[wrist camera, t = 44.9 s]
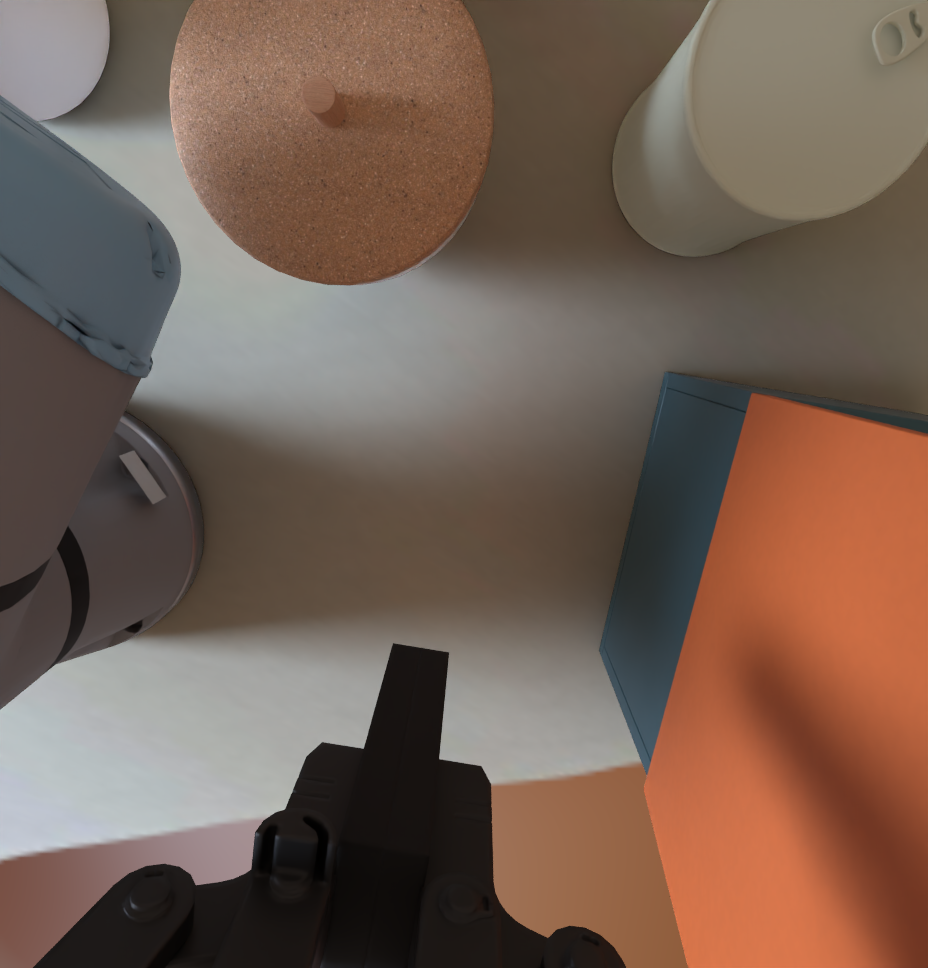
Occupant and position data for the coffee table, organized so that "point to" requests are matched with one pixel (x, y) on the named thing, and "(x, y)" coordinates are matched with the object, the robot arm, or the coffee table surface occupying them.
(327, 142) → the lidded bowl
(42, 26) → the wine bottle
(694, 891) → the lid
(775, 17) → the can
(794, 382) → the coffee table surface
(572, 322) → the coffee table surface
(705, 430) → the container
